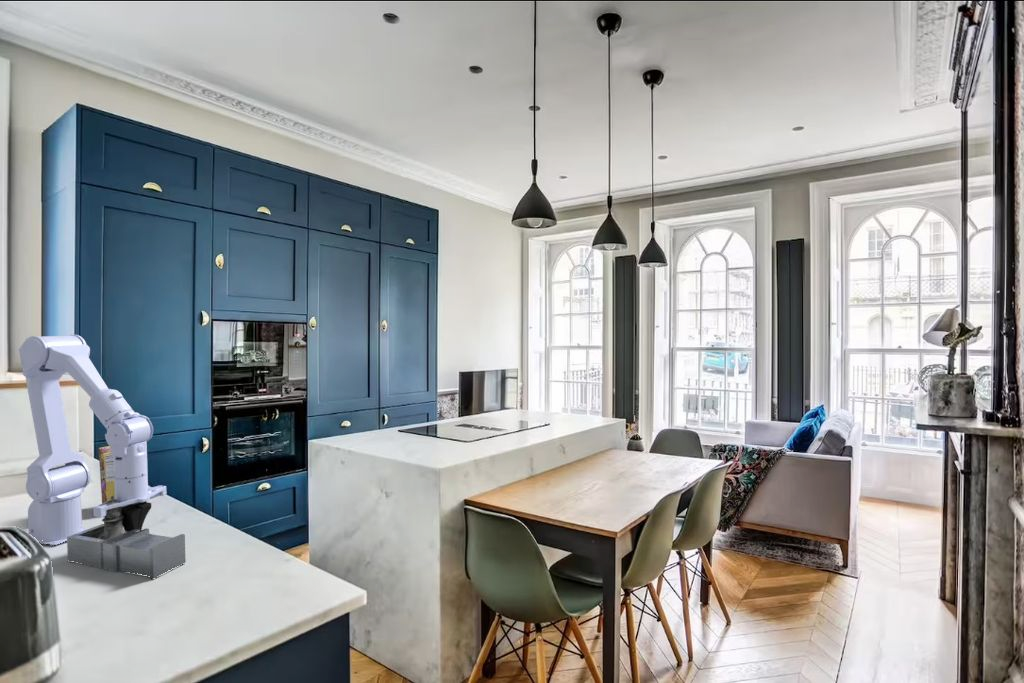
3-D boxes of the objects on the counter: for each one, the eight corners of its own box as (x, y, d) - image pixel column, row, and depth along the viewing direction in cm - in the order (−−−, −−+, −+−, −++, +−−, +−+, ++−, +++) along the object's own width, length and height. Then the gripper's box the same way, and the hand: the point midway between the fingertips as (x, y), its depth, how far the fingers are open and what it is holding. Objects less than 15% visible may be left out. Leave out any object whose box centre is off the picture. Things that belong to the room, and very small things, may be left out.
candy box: (100, 507, 139) (98, 447, 138) (120, 503, 142) (118, 444, 141) (105, 516, 132) (103, 453, 131) (127, 512, 135) (125, 450, 134)
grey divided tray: (65, 562, 108) (64, 533, 107) (103, 547, 115) (102, 520, 114) (153, 579, 101) (152, 548, 101) (188, 562, 108) (187, 533, 108)
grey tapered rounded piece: (113, 561, 108) (111, 501, 108) (88, 558, 109) (86, 499, 109) (139, 548, 114) (137, 492, 113) (115, 546, 115) (113, 490, 115)
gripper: (111, 487, 107) (113, 555, 108) (176, 467, 121) (178, 528, 121) (84, 484, 109) (87, 551, 110) (152, 464, 123) (153, 524, 123)
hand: (133, 538), depth 116 cm, fingers closed
